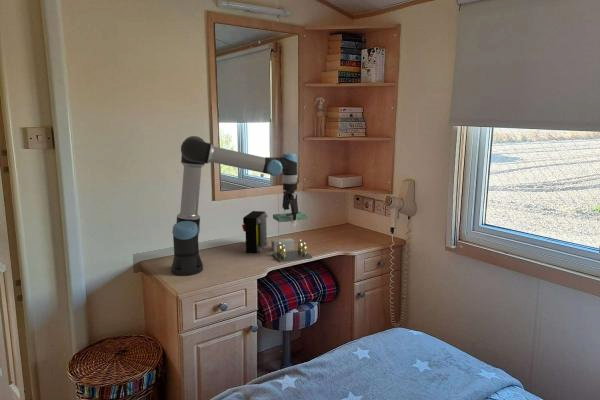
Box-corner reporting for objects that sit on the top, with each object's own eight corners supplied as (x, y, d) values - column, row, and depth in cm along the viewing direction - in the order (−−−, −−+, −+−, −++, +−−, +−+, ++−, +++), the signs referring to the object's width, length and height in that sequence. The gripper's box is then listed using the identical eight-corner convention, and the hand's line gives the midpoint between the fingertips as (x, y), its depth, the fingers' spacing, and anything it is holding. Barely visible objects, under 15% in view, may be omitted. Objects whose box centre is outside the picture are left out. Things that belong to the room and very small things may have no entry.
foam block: (274, 251, 243) (274, 242, 242) (271, 248, 248) (271, 240, 247) (294, 248, 247) (294, 240, 246) (291, 246, 252) (291, 238, 251)
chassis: (280, 262, 225) (279, 247, 223) (272, 255, 237) (272, 240, 235) (312, 258, 231) (312, 243, 230) (303, 251, 243) (303, 237, 241)
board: (279, 222, 225) (279, 216, 224) (272, 218, 234) (272, 213, 233) (307, 219, 231) (307, 214, 230) (300, 215, 240) (300, 210, 239)
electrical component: (260, 254, 239) (259, 218, 235) (242, 252, 241) (241, 217, 237) (269, 244, 256) (268, 211, 252) (252, 243, 258) (251, 210, 254)
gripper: (305, 185, 220) (304, 228, 224) (288, 179, 240) (289, 218, 244) (291, 186, 217) (291, 229, 221) (276, 180, 237) (276, 219, 242)
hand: (290, 223), depth 233 cm, fingers closed on board, 10 cm apart
